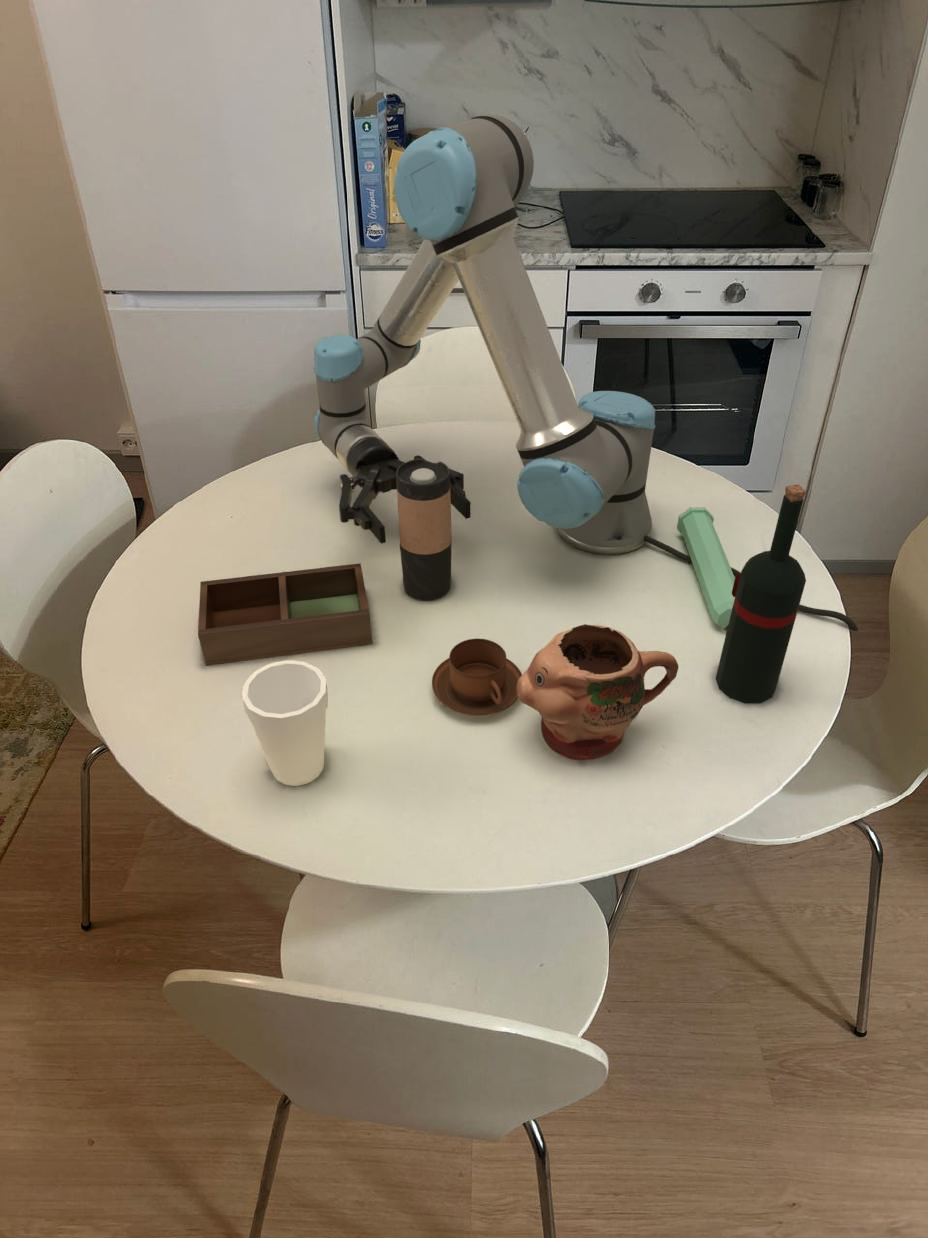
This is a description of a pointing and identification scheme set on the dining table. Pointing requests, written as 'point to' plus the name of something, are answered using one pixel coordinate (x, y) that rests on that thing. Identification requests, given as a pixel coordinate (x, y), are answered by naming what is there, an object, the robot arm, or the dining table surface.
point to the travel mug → (425, 528)
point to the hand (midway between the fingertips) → (426, 522)
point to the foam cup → (289, 718)
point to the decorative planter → (590, 689)
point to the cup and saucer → (476, 679)
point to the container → (708, 562)
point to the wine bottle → (763, 612)
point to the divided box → (283, 614)
